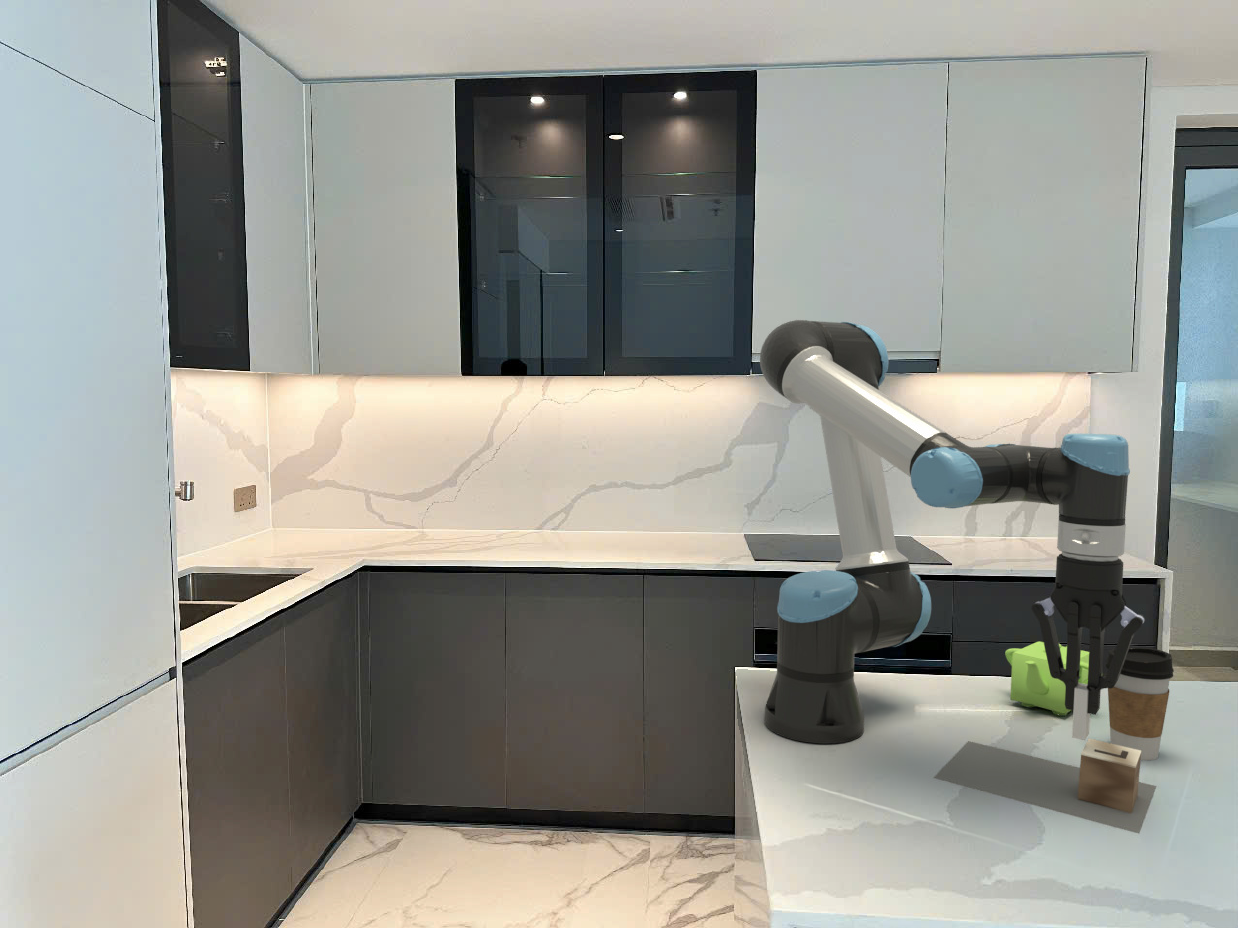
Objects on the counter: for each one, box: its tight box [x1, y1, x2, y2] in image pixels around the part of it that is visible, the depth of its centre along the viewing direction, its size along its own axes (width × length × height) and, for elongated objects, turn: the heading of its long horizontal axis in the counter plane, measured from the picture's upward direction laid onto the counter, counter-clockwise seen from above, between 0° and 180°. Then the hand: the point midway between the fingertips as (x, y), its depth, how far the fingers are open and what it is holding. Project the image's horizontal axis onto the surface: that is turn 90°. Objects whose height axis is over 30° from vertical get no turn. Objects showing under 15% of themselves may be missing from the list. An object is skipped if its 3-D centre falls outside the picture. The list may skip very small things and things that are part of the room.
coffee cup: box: [1105, 647, 1175, 761], centre depth 127 cm, size 8×8×15 cm
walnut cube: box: [1078, 738, 1142, 813], centre depth 113 cm, size 6×6×6 cm
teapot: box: [1005, 641, 1089, 716], centre depth 147 cm, size 15×13×11 cm
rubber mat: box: [933, 740, 1157, 835], centre depth 117 cm, size 24×16×1 cm, turn 53°
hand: (1080, 735), depth 114 cm, fingers closed
